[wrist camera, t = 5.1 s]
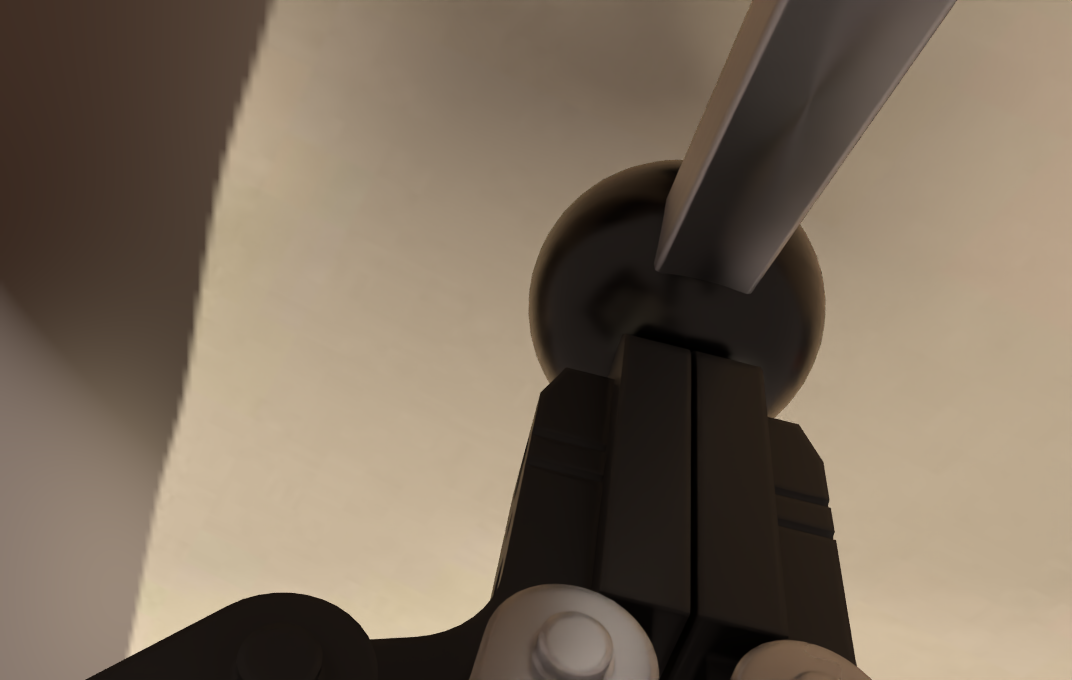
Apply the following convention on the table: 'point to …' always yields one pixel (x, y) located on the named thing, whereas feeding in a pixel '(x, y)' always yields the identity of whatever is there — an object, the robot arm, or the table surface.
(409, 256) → the table surface
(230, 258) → the table surface
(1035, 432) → the table surface
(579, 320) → the lever
